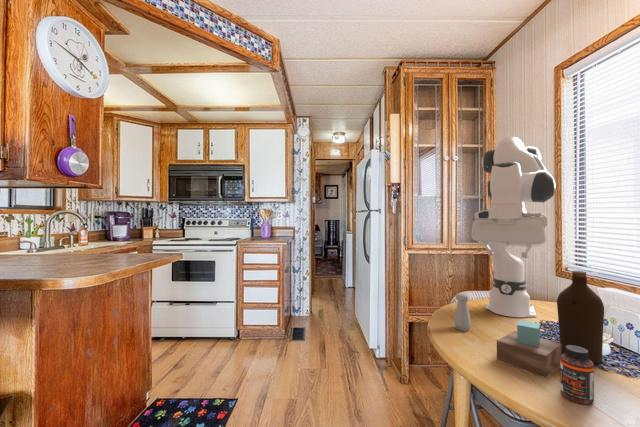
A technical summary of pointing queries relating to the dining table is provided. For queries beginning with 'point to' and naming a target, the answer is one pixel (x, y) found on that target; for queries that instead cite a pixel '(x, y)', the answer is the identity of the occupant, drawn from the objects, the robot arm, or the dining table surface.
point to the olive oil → (581, 317)
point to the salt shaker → (462, 313)
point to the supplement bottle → (577, 375)
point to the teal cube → (528, 333)
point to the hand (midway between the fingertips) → (507, 256)
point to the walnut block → (529, 355)
